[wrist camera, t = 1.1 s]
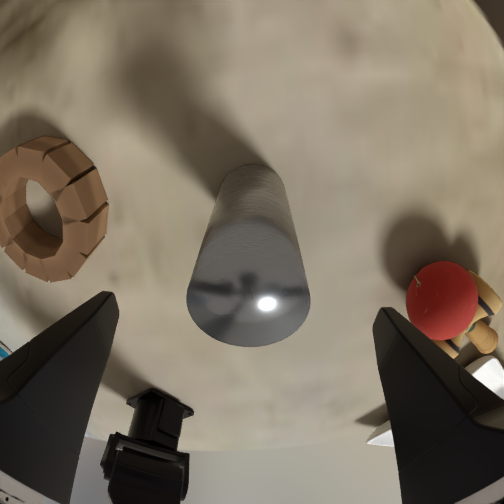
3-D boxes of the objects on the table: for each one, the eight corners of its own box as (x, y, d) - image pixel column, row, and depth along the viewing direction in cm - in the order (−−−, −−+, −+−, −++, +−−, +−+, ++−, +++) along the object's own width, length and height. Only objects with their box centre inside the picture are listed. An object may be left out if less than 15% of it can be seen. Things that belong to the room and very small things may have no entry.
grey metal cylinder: (250, 236, 19) (244, 360, 11) (206, 193, 18) (162, 300, 9) (298, 198, 18) (333, 309, 10) (255, 150, 17) (253, 227, 8)
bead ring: (72, 279, 22) (56, 302, 19) (-2, 204, 18) (-23, 220, 15) (133, 202, 18) (115, 221, 16) (41, 109, 14) (13, 117, 12)
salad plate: (510, 372, 32) (517, 387, 30) (420, 436, 42) (424, 450, 39) (483, 336, 26) (495, 357, 23) (358, 424, 35) (362, 444, 32)
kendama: (503, 297, 24) (452, 223, 17) (523, 342, 20) (492, 293, 13) (454, 332, 29) (376, 285, 22) (469, 377, 24) (397, 356, 17)
